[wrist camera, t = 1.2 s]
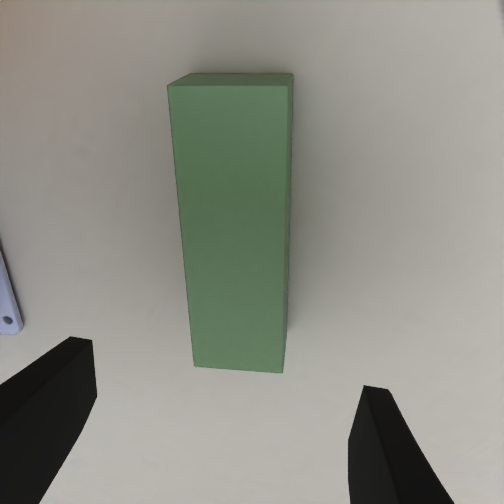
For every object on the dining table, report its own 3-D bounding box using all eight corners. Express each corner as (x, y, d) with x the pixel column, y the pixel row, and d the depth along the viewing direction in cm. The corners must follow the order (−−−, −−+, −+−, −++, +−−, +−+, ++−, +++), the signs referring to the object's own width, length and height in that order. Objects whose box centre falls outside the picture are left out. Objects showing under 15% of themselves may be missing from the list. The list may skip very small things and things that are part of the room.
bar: (189, 73, 18) (166, 84, 15) (293, 73, 17) (289, 85, 15) (207, 326, 23) (193, 367, 21) (287, 331, 23) (282, 374, 20)
